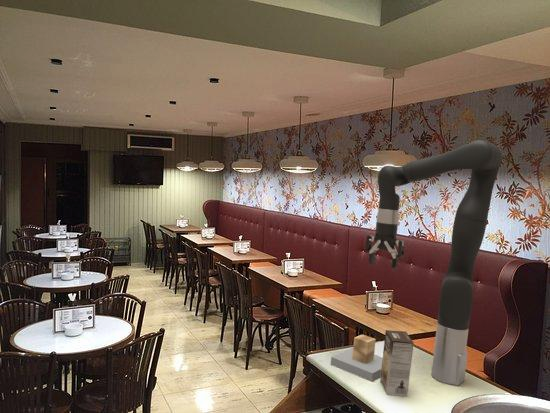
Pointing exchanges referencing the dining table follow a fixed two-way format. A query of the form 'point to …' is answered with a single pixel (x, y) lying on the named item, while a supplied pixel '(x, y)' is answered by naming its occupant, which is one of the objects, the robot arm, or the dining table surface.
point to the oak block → (363, 349)
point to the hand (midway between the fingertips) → (382, 266)
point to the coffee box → (396, 362)
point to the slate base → (358, 365)
